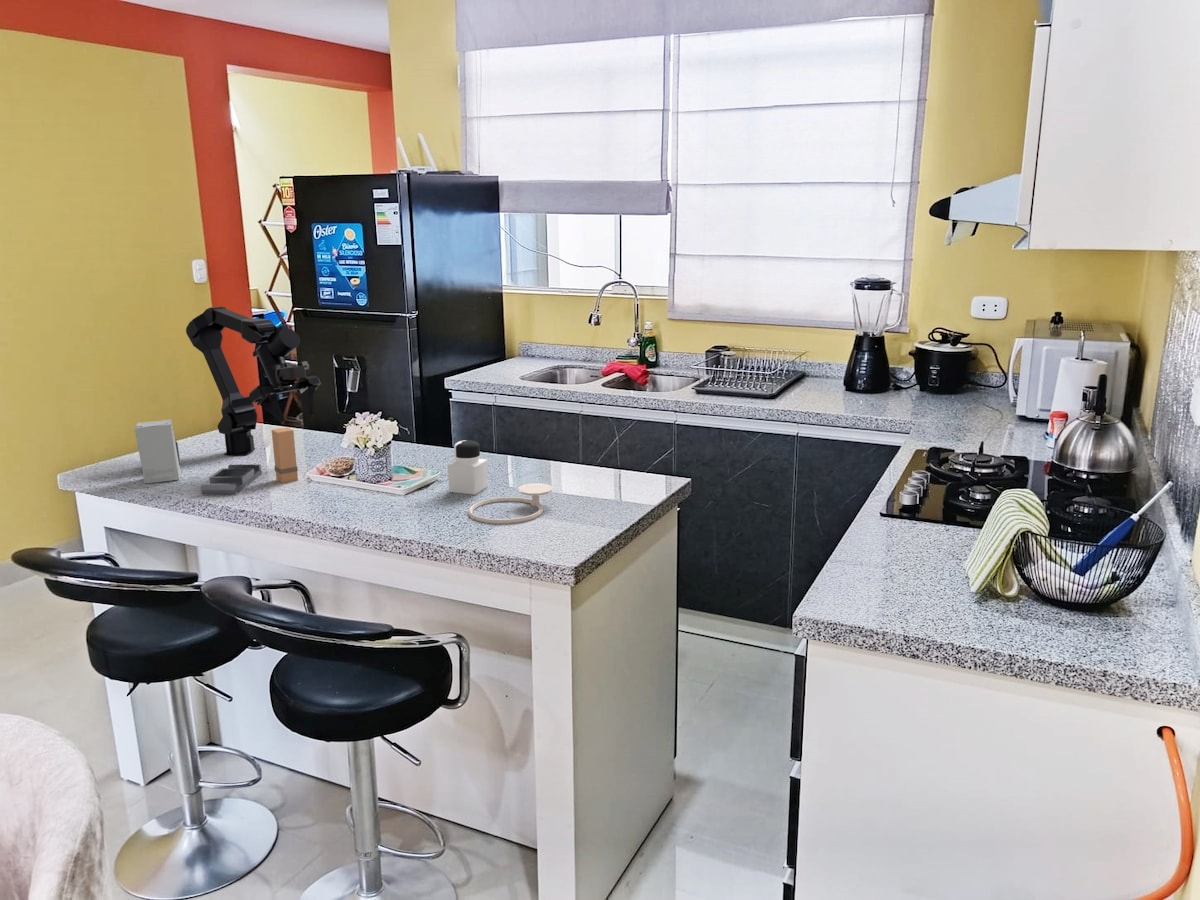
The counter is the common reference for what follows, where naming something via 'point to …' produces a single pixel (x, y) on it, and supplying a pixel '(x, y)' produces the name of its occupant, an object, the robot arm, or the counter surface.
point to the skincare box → (157, 451)
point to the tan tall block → (284, 455)
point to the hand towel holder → (526, 489)
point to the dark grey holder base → (231, 479)
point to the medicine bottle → (467, 469)
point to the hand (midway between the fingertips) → (298, 418)
